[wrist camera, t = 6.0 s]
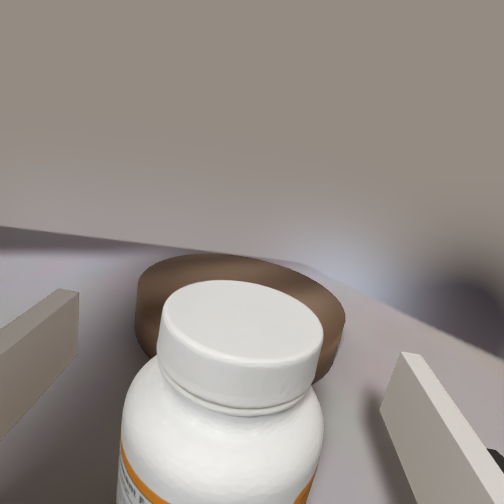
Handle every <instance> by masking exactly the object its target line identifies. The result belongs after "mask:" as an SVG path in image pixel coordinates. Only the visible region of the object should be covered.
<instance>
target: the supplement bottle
mask: <svg viewBox="0 0 504 504" xmlns="http://www.w3.org/2000/svg"><path fill="white" fill-rule="evenodd" d="M323 335H324V334H323V328H322V325H321V323H320V321H319V319H318V318H317V316H316V315H315V314H314V313H313V312H312V311H311V310H310V309H309V308H308V307H307V306H306V305H304V304H303V303H301V302H300V301H299V300H297V299H295V298H293V297H291V296H289V295H287V294H285V293H283V292H280V291H278V290H275V289H272V288H269V287H266V286H262V285H259V284H254V283H248V282H242V281H232V280H211V281H204V282H197V283H194V284H190V285H187V286H185V287H182V288H180V289H179V290H177V291H175V292H174V293H173V294H172V295H171V296H170V297H169V298H168V299H167V300H166V302H165V304H164V306H163V310H162V316H161V323H160V329H159V336H158V341H157V355H156V356H154V357H153V358H152V359H151V360H149V361H148V362H147V363H146V364H145V365H144V366H143V367H142V368H141V370H140V371H139V372H138V373H137V375H136V376H135V378H134V380H133V381H132V383H131V385H130V387H129V389H128V392H127V395H126V398H125V402H124V407H123V414H122V423H121V435H120V446H119V447H120V453H119V467H118V481H117V494H116V504H305V503H306V500H307V497H308V494H309V491H310V488H311V485H312V482H313V479H314V476H315V473H316V470H317V465H318V462H319V458H320V453H321V449H322V445H323V438H324V422H323V415H322V410H321V406H320V403H319V400H318V398H317V396H316V394H315V392H314V390H313V388H312V387H311V383H312V381H313V380H314V378H315V373H316V368H317V363H318V359H319V355H320V351H321V347H322V343H323Z"/></svg>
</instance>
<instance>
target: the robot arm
mask: <svg viewBox="0 0 504 504" xmlns="http://www.w3.org/2000/svg"><path fill="white" fill-rule="evenodd" d="M78 313H79V292H75V291H69V290H64V289H57V290H56V291H54V292H53V293H52V294H50V295H49V296H47V297H46V298H45V299H43V300H42V301H40V302H39V303H38V304H36V305H35V306H33V307H32V308H30V309H29V310H28V311H26V312H25V313H23V314H22V315H21V316H19V317H18V318H16V319H15V320H13V321H12V322H11V323H9V324H8V325H6V326H5V327H4V328H2V329H1V330H0V441H1V440H2V439H3V438H4V437H5V435H6V434H7V433H8V432H9V431H10V430H11V429H12V428H13V426H14V425H15V424H16V423H17V422H18V421H19V420H20V419H21V417H22V416H23V415H24V414H25V413H26V412H27V411H28V410H29V409H30V407H31V406H32V405H33V404H34V403H35V402H36V401H37V400H38V398H39V397H40V396H41V395H42V394H43V393H44V392H45V391H46V389H47V388H48V387H49V386H50V385H51V384H52V383H53V382H54V381H55V379H56V378H57V377H58V376H59V375H60V374H61V373H62V372H63V370H64V369H65V368H66V367H67V366H68V365H69V364H70V363H71V361H72V360H73V359H74V358H75V357H76V356H77V351H78ZM379 410H380V413H381V415H382V418H383V420H384V422H385V425H386V427H387V430H388V432H389V435H390V437H391V440H392V442H393V445H394V447H395V450H396V452H397V454H398V457H399V459H400V462H401V464H402V467H403V469H404V472H405V474H406V477H407V479H408V482H409V484H410V486H411V489H412V491H413V494H414V496H415V499H416V501H417V504H504V457H503V456H502V455H501V454H499V453H498V452H497V451H496V450H493V449H487V448H485V446H484V445H483V443H482V442H481V440H480V439H479V438H478V436H477V435H476V433H475V432H474V430H473V429H472V428H471V426H470V425H469V423H468V422H467V421H466V419H465V418H464V416H463V415H462V413H461V412H460V411H459V409H458V408H457V406H456V405H455V403H454V402H453V401H452V399H451V398H450V396H449V395H448V393H447V392H446V391H445V389H444V388H443V386H442V385H441V383H440V382H439V381H438V379H437V378H436V376H435V375H434V373H433V372H432V371H431V369H430V368H429V366H428V365H427V363H426V362H425V361H424V359H423V358H422V356H421V355H418V354H413V353H407V352H402V351H401V352H400V354H399V357H398V360H397V363H396V365H395V368H394V371H393V374H392V376H391V379H390V382H389V385H388V387H387V390H386V393H385V396H384V398H383V401H382V404H381V407H380V409H379Z"/></svg>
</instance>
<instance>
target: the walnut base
mask: <svg viewBox="0 0 504 504" xmlns="http://www.w3.org/2000/svg"><path fill="white" fill-rule="evenodd" d="M211 280H232V281H242V282H248V283H254V284H259V285H262V286H266V287H269V288H272V289H275V290H278V291H280V292H283V293H285V294H287V295H289V296H291V297H293V298H295V299H297V300H299V301H300V302H301V303H303V304H304V305H306V306H307V307H308V308H309V309H310V310H311V311H312V312H313V313H314V314H315V315H316V316H317V318H318V319H319V321H320V323H321V325H322V328H323V334H324V335H323V343H322V347H321V351H320V355H319V359H318V363H317V368H316V373H315V378H314V380H313V381H312V383H311V385H312V384H314V383H315V382H317V381H318V380H320V379H321V378H322V377H323V376H324V375H325V374H326V373H327V372H328V371H329V369H330V368H331V366H332V364H333V361H334V358H335V354H336V351H337V347H338V344H339V341H340V337H341V334H342V331H343V327H344V324H345V312H344V309H343V307H342V305H341V303H340V302H339V301H338V299H337V298H336V297H335V296H334V295H333V294H332V293H331V292H330V291H329V290H327V289H326V288H325V287H323V286H322V285H320V284H319V283H317V282H316V281H314V280H312V279H310V278H309V277H307V276H305V275H303V274H300V273H298V272H296V271H294V270H291V269H289V268H286V267H283V266H280V265H277V264H273V263H270V262H266V261H262V260H258V259H253V258H248V257H242V256H234V255H224V254H193V255H184V256H178V257H173V258H169V259H166V260H163V261H161V262H158V263H156V264H154V265H153V266H151V267H149V268H148V269H147V270H146V271H145V272H144V273H143V274H142V275H141V277H140V279H139V282H138V290H137V302H136V314H135V333H136V337H137V339H138V342H139V344H140V346H141V347H142V348H143V350H144V351H145V353H146V354H147V355H148V356H149V357H150V358H151V359H152V358H153V357H154V356H156V355H157V341H158V336H159V329H160V323H161V316H162V310H163V306H164V304H165V302H166V300H167V299H168V298H169V297H170V296H171V295H172V294H173V293H174V292H175V291H177V290H179V289H180V288H182V287H185V286H187V285H190V284H194V283H197V282H204V281H211Z"/></svg>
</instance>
